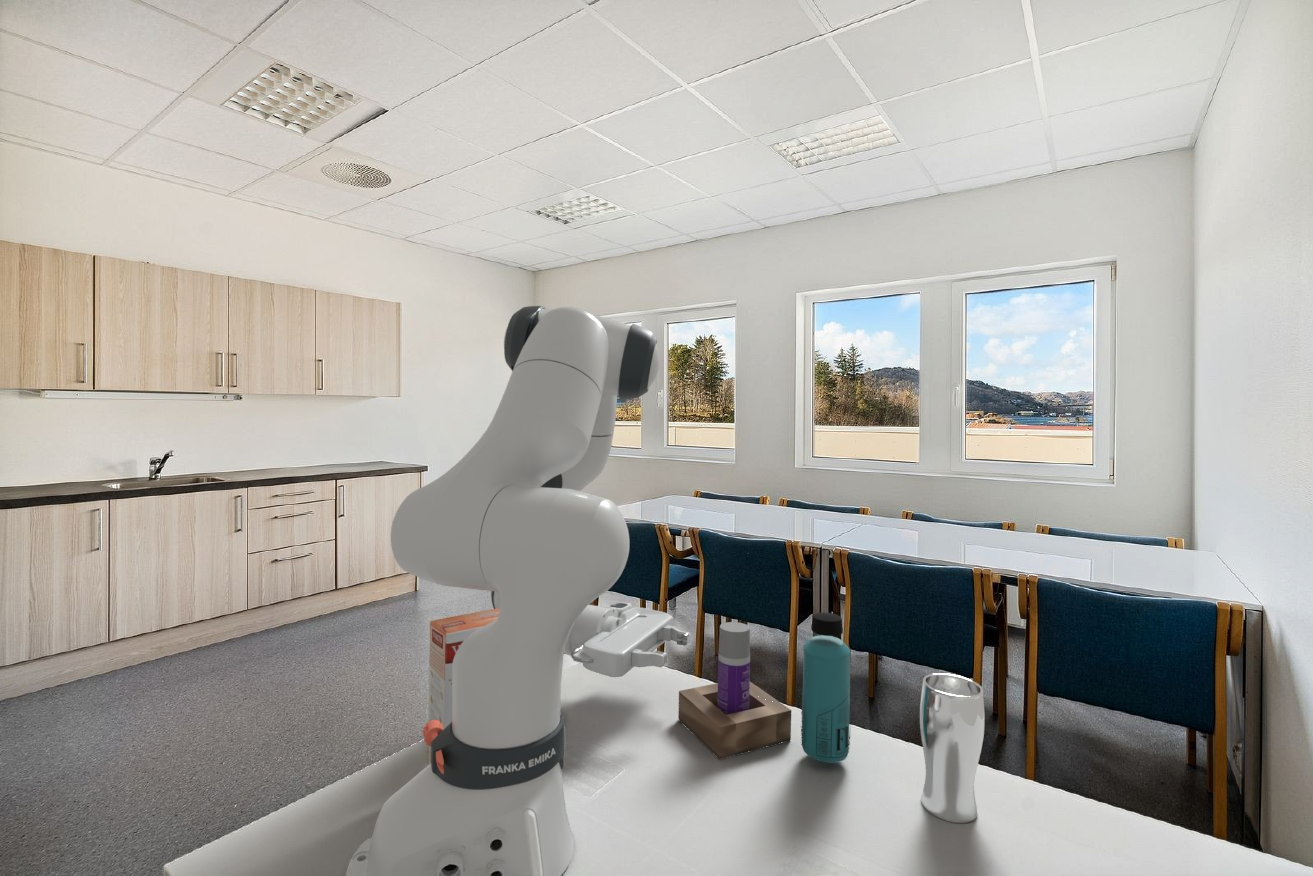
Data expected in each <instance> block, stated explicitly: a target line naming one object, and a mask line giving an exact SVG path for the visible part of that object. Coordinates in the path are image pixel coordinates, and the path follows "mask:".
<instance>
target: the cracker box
mask: <svg viewBox="0 0 1313 876" xmlns="http://www.w3.org/2000/svg"><path fill="white" fill-rule="evenodd" d="M499 612H500V608H497V609H494V608H492V609H487V610H482V611H476V612H470V613H466V614H460V615H454V616H449V617H444V618H440V619H439V618H438V619H434V620H431V621H429V657H428V658H429V663H428V664H429V665H428V666H429V668H428V670H429V671H428V672H429V673H428V722H429V721H432V720H438V721H440V723H442V726H443V730H444V729H445V728H446V727H447V726H448V725H449V724H450V723H451V722H452V663H453V659H454V657H455V654H456V652H457V650H458V648H459V647H460V645H461V643H462V642H463V641H464V640H465V639H466V638H467V637H468V636H469V635H470V634H471V633H472V632H474V631H476V630H477V629H479V628H481V627H483V626H485V625H487V624H489V623H491V622H493V621H495V620H498V616H499ZM427 746H428V747H427V766H428V765H429V764H430V763H431V746H429V745H427Z"/></svg>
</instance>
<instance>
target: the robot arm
mask: <svg viewBox="0 0 1313 876" xmlns="http://www.w3.org/2000/svg"><path fill="white" fill-rule="evenodd" d="M504 333H505V334H504V336H503V337H504V338H503V351H504V360H505V363H506V365H507V366H508V367H509V369H510V370H511V375H510V377H509V380H508V382H507V385H506V387H505V390H504V391H503V392H504V393H503V394H502V397H501V400H500V402H499V404H498V407H497V409H496V411H495V413H494V416H493V417H492V420H491V422H490V423H489V425H488V427H487V429H485V431H484V433H483V434H482V436H480V438H479V439H478V441H477V442H476V443H475V444H474V445H473V446H472V447H471V449H470V450H469V451H468V452H467V453H466V454H465V455H464V456H463V457H462V458H460V459H459V461H457V463H455V465H453V466H452V467H450V469H449V470H447V471H446V472H444V473H443V474H442V475H441V476H439V477H438V478H437V479H435V480H433V481H431V482H430V483H428V484H426V485H424V486H422V487H420V488H417V489H415V490H414V491H412V492H410V494H408V495H407V496H406V497H405V498H404V500H403V501H402V502H401V503H400V505H399V506H398V508H397V510H396V513H394V514H395V515H394V516H393V519H392V523H391V527H390V545H391V551H392V554H393V557H394V559H395V561H396V563H397V564H398V566H399V567H400V568H401V570H403V571H404V572H406V573H407V574H410V575H412V576H415V577H417V578H420V579H422V580H426V581H429V582H431V583H435V584H437V585H439V586H444V587H452V588H462V589H470V590H479V591H487V592H490V598H491V604H492V607H493V608H492V609H497V608H500V612H499V616H498V620H495V621H493V622H491V623H489V624H487V625H485V626H483V627H481V628H479V629H477V630H476V631H474V632H472V633H471V634H470V635H469V636H468V637H467V638H466V639H465V640H464V641H463V642H462V643H461V645H460V647H459V648H458V650H457V652H456V654H455V657H454V659H453V663H452V722H451V723H450V724H449V725H448V726H447V727H446V728H445V729H444V730H443V726H442V723H440V721H438V720H432V721H429V720H428V722H426V723H425V725H424V726H423V729H422V735H423V739H424V743H425V744H426V745H427V746H428V745H429V746H431V763H430V764H429V765H428V764H427V765H426V767H424V768H423V769H421V771H420V772H418V773H417V774H416V775H415V776H414V777H413V778H411V779H410V780H408V782H407V783H405V784H404V785H403V786H402V787H400V788H399V789H398V790H397V791H395V792H394V793H393V794H392V795H391V796H389V798H388V799H387V800H386V801H385V802H384V804H383V805H382V807H381V809H380V811H379V813H378V815H377V818H376V821H375V825H374V828H373V832H372V835H371V837H369V838H367V839H365V840H364V841H363V842H362V843H361V844H360V845H359V846H358V848H357V849H356V850H355V852H354V853H353V855H352V857H351V858H350V861H349V862H348V863H349V864H348V865H347V868H346V872H345V876H562V875H563V874H564V872H565V871H566V870H567V868H568V867H569V865H570V863H571V861H572V860H573V859H572V858H573V856H574V852H575V838H574V834H573V831H572V829H571V825H570V822H569V817H568V813H567V807H566V801H565V794H564V783H563V774H562V772H563V771H562V770H563V769H564V767H565V766H564V765H565V756H566V727H565V726H566V725H565V717H564V715H563V714H561V694H562V679H563V678H562V677H563V675H562V674H563V664H564V655H567V656H569V657H570V658H571V659H572V661H574V662H576V663H581V664H582V666H583V667H584V668H585V669H586V670H588V671H591V672H594V673H597V674H599V675H602V676H603V675H604V676H606V677H611V678H619V677H623V676H625V675H626V674H627V673H628V672H629V671H631V670H632V669H633V668H644V667H645V668H646V667H652V666H653V667H657V668H663V667H664V666H665V665H666V664H667V663H668V654H667V653H666V652H664V651H660V650H656V649H658V648H659V647H660V646H661V645H663V644H664V643H665V642H666V641H667V642H671V641H673V642H675V643H676V645H678V646H685V647H686V646H687V645H688V644H689V643H691V633H690V632H689V631H683V630H680V629H679V628H677V627H676V626H675V625H674V617H673V616H672V615H671V614H669V613H667V612H664V611H660V610H655V609H651V608H645V607H633V606H632V603H630V602H622V601H621V602H619V603H618V602H617V603H614V604H610V605H601V604H600V605H594V604H593V605H592V602H594V601H595V600H596V599H597V598H599V597H601V596H603V595H604V594H605V593H607V591H609V590H610V589H612V587H613V586H614V585H615V583H617V581H618V580H619V578H620V577H621V575H622V574H623V571H624V569H626V565H627V562H628V558H629V554H630V543H631V542H630V533H629V528H628V525H627V522H626V520H625V518H624V516H623V513H622V512H621V510H620V508H619V507H618V506H617V504H616V503H615V502H614V501H613V500H611V499H608V498H605V497H602V496H599V495H594V494H592V493H588V492H584V491H582V490H583V489H584V488H585V487H587V486H588V485H589V484H590V483H592V482H593V481H594V480H595V479H597V477H599V476H600V475H601V473H603V472H604V471H603V470H604V469H605V466H606V464H607V462H608V458H609V457H610V453H611V451H612V444H613V439H614V434H615V433H614V432H615V425H616V417H617V405H618V402H617V401H618V398H619V400H620V402H621V403H626V402H627V400H633V399H639V398H640V397H642V396H643V395H645V394H646V393H648V391H649V388H651V386H652V385H653V383H654V382H655V380H656V378H657V375H658V373H659V369H660V361H661V360H660V359H661V357H660V350H659V346H658V340H657V338H656V336H655V334H654V332H653V331H651V330H649V329H648V328H645V327H644V326H641V325H637V324H635V323H632V324H631V325H630V324H627V323H624V322H622V321H618V320H615V319H611V318H607V317H603V316H600V315H599V316H598V315H595V314H592V313H590V312H589V311H586V310H583V309H581V308H578V307H573V306H563V307H562V306H561V307H557V308H546V307H545V305H530V306H529V305H527V306H524V307H522V308H520V309H519V310H517V311H516V312H514V313H513V314H512V316H511V317H510V319H509V321H508V324H507V327H506V329H505V332H504Z"/></svg>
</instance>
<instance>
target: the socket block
mask: <svg viewBox="0 0 1313 876" xmlns="http://www.w3.org/2000/svg"><path fill="white" fill-rule="evenodd" d="M758 696H759V697H758ZM765 699H766V700H765ZM772 701H773V702H772ZM717 703H718V682H717V683H716V682H715V683H713V684H712V683H711V684H708V685H707V684H706V685H703V686H702V685H701V686H698V687H693V688H686V689H683V690H678V719H679V720H680V721H679V720H678V719H677V720H678V721H679V722H680V723H681V724H682V723H683V724H684V725H685V726H686V727H685V726H684V725H683V724H682V725H683V726H684V727H685V728H686V729H687V728H688V729H689V730H688V729H687V730H688V731H689V732H690V733H691V732H692V733H693V734H692V733H691V734H692V735H693V737H695V738H696V739H698V740H699V742H701V743H702V744H703V746H705V747H706V749H708V750H709V751H710V753H711V754H713V755H714V756H715V757H716V758H717V760H720V761H721V760H724V759H728V758H731V757H732V758H733V757H735V756H738V755H739V756H740V755H742V753H743V754H746V752H747V753H749V752H748V751H751V752H754V751H757V749H758V750H761V749H760V748H762V749H764V748H763V747H766V746H770V747H773V746H776V745H775V744H777V745H780V744H779V743H781V742H785V743H788V742H791V741H790V740H792V737H791V736H792V710H791V708H789V707H787V706H786V705H784V704H783V703H782V702H780V701H779V700H777V699H776V698H775V697H773V696H772V695H770V694H769V693H767V692H766V691H764V690H763V689H761V688H760V687H759V686H757V685H755V683H753V682H751V681H750V689H749V710H745V711H741V712H737V713H732V714H728V715H726V714H724V713H723V712H722V711H721V710H720V709H718V708H717ZM781 744H782V743H781ZM772 745H773V746H772ZM766 748H767V747H766Z"/></svg>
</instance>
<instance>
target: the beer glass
mask: <svg viewBox="0 0 1313 876" xmlns="http://www.w3.org/2000/svg"><path fill="white" fill-rule="evenodd" d="M921 689H922V690H921V696H920V705H919V725H920V726H919V727H920V736H921V744H922V750H923V756H924V764H925V779H924V784H923V785H924V786H923V789H922V792H921V797H920V800H921V803H922V806H923V807H924V808H925V809H926V810H927V811H928V812H929V813H930V814H932V815H933V816H934V817H937V818H938V819H941V820H942V821H943V820H944V821H945V822H946V821H947V822H950V823H956V824H967V823H971V822H973V821H974V820H976V818H977V816H978V809H977V808H978V807H977V801H976V795H975V778H976V774H977V769H978V765H979V761H980V756H981V753H982V748H983V742H984V737H985V736H984V735H985V704H984V688H983V687H982V686H981V685H980V684H979V683H978V682H976V681H974V680H972V679H969V678H967V677H964V676H961V675H956V674H951V673H945V672H944V673H943V672H942V673H939V672H938V673H937V672H936V673H930V674H927V675H925V676H923V679H922V687H921Z"/></svg>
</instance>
